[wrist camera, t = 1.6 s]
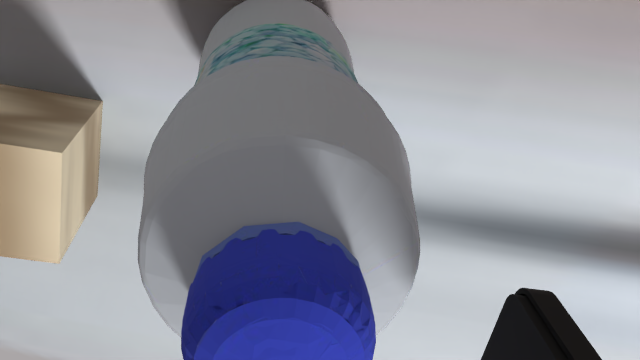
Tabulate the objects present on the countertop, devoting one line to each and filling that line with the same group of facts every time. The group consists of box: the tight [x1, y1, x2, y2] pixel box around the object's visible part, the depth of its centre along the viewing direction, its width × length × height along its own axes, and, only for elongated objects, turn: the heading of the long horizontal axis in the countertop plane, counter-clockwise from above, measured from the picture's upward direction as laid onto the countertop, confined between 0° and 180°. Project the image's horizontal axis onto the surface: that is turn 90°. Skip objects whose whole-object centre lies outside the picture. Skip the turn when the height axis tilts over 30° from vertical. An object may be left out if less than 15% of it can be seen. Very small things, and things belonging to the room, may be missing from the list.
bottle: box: [138, 0, 420, 360], centre depth 18 cm, size 7×7×20 cm
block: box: [0, 84, 103, 264], centre depth 26 cm, size 5×5×6 cm
